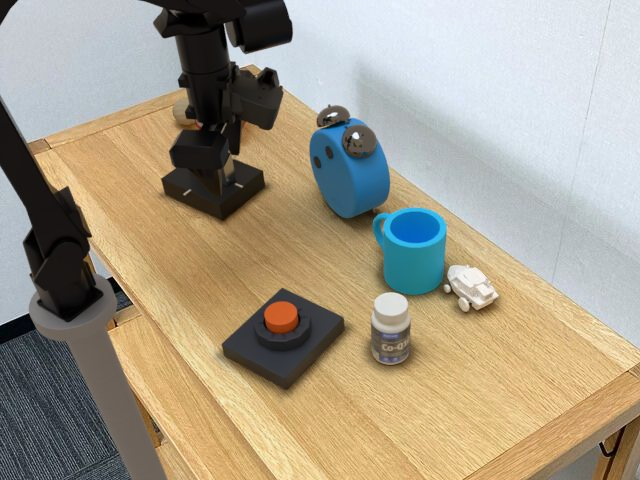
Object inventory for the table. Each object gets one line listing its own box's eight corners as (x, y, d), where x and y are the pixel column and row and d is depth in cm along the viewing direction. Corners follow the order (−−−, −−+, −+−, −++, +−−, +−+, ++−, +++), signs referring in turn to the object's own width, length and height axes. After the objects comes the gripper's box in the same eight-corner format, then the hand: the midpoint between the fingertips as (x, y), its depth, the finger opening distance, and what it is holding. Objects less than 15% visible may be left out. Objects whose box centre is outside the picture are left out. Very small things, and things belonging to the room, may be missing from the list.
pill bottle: (382, 371, 92) (381, 323, 85) (365, 345, 95) (363, 297, 88) (416, 357, 93) (418, 309, 87) (398, 332, 96) (399, 284, 89)
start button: (284, 339, 91) (283, 329, 90) (259, 326, 93) (257, 316, 91) (304, 319, 93) (303, 309, 92) (279, 306, 95) (278, 296, 93)
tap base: (270, 183, 118) (268, 166, 116) (218, 225, 112) (214, 208, 109) (212, 159, 123) (209, 142, 121) (159, 198, 116) (154, 181, 114)
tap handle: (236, 179, 114) (230, 149, 110) (227, 186, 113) (221, 156, 109) (197, 163, 117) (190, 133, 113) (188, 169, 116) (181, 139, 112)
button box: (286, 390, 90) (283, 368, 87) (224, 355, 94) (218, 334, 91) (344, 329, 97) (343, 307, 94) (283, 299, 101) (280, 277, 98)
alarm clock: (391, 221, 111) (392, 131, 99) (356, 237, 108) (352, 147, 97) (344, 178, 118) (339, 90, 107) (310, 192, 116) (302, 103, 105)
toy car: (471, 320, 97) (474, 297, 94) (435, 284, 101) (436, 261, 98) (501, 305, 98) (504, 282, 95) (463, 270, 103) (466, 247, 100)
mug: (456, 274, 102) (460, 227, 96) (412, 303, 99) (414, 256, 93) (395, 233, 109) (396, 186, 103) (352, 259, 105) (350, 212, 99)
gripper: (253, 108, 81) (270, 223, 92) (289, 27, 93) (300, 138, 105) (154, 103, 82) (183, 217, 94) (202, 24, 94) (223, 134, 106)
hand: (226, 174), depth 100 cm, fingers open, 9 cm apart
